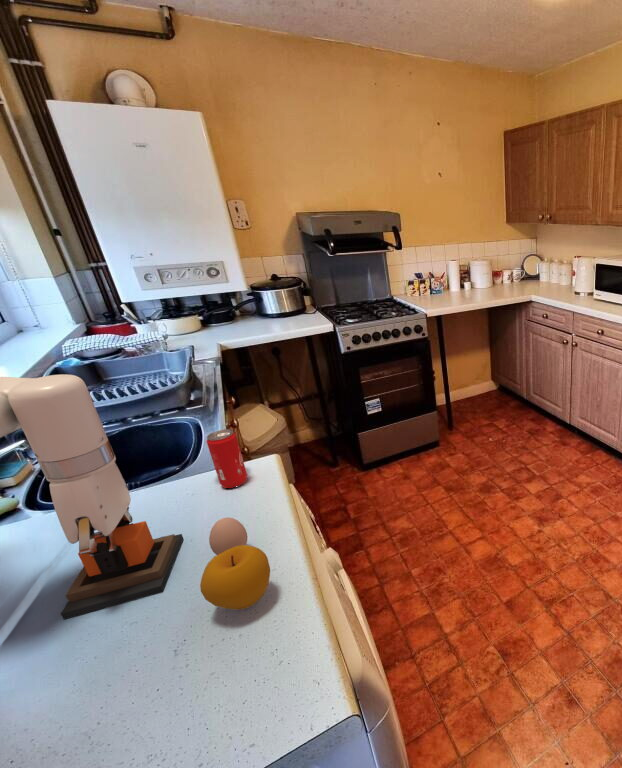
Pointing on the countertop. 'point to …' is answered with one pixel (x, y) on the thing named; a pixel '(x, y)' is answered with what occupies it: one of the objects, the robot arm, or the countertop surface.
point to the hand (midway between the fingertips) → (122, 556)
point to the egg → (227, 535)
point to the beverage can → (227, 458)
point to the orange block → (125, 546)
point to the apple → (236, 578)
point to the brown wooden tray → (124, 580)
